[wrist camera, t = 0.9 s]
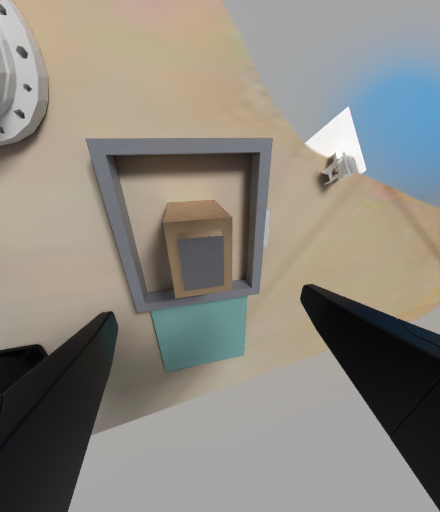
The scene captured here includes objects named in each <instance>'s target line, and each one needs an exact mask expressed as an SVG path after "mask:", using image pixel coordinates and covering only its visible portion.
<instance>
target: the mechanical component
mask: <svg viewBox="0 0 440 512" xmlns="http://www.w3.org/2000/svg"><path fill="white" fill-rule="evenodd" d="M47 104H48V77H47V73H46V70H45V66H44V63H43V60H42V56H41V53H40V49H39V47H38V45H37V43H36V41H35V39H34V37H33V35H32V33H31V31H30V29H29V27H28V25H27V23H26V21H25V19H24V17H23V15H22V13H21V12H20V11H19V9H18V8H17V7H16V6H15V4H14V3H13V2H12V1H11V0H0V146H2V145H7V144H12V143H17V142H18V141H20V140H22V139H24V138H25V137H27V136H29V135H31V134H32V133H34V132H35V130H36V129H37V127H38V125H39V124H40V122H41V120H42V119H43V117H44V115H45V113H46V108H47Z"/></svg>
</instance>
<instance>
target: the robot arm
mask: <svg viewBox="0 0 440 512" xmlns="http://www.w3.org/2000/svg"><path fill="white" fill-rule="evenodd" d="M300 300H301V303H302V305H303V307H304V308H305V310H306V312H307V314H308V316H309V317H310V319H311V321H312V323H313V325H314V326H315V328H316V330H317V331H318V333H319V334H320V336H321V337H322V339H323V340H324V342H325V343H326V345H327V346H328V347H329V349H330V350H331V352H332V353H333V355H334V356H335V358H336V359H337V361H338V362H339V363H340V365H341V367H342V368H343V369H344V371H345V372H346V374H347V375H348V377H349V378H350V380H351V381H352V382H353V384H354V385H355V387H356V388H357V390H358V391H359V393H360V394H361V396H362V397H363V399H364V400H365V402H366V403H367V405H368V406H369V408H370V409H371V410H372V412H373V413H374V415H375V416H376V418H377V419H378V421H379V422H380V424H381V425H382V427H383V428H384V430H385V431H386V432H387V434H388V435H389V437H390V438H391V440H392V441H393V443H394V445H395V446H396V447H397V449H398V450H399V452H400V453H401V455H402V456H403V458H404V459H405V461H406V462H407V464H408V465H409V467H410V468H411V469H412V471H413V472H414V474H415V475H416V477H417V478H418V480H419V481H420V483H421V484H422V486H423V487H424V489H425V490H426V492H427V493H428V494H429V496H430V497H431V499H432V500H433V502H434V503H435V505H436V506H437V508H438V509H439V511H440V334H437V333H434V332H431V331H429V330H426V329H423V328H421V327H418V326H416V325H413V324H411V323H408V322H406V321H403V320H401V319H397V318H396V317H393V316H391V315H388V314H386V313H383V312H381V311H378V310H376V309H373V308H371V307H368V306H366V305H363V304H361V303H358V302H356V301H353V300H351V299H348V298H346V297H343V296H341V295H338V294H336V293H333V292H331V291H328V290H326V289H323V288H321V287H318V286H316V285H314V284H307V285H304V286H303V289H302V293H301V297H300ZM117 334H118V324H117V321H116V318H115V315H114V313H113V312H112V311H108V312H102V313H100V314H99V315H98V316H97V317H95V318H94V319H93V320H92V321H90V322H89V323H88V324H87V325H86V326H84V327H83V328H82V329H81V330H79V331H78V332H77V333H76V334H75V335H73V336H72V337H71V338H70V339H68V340H67V341H66V342H65V343H64V344H62V345H61V346H60V347H59V348H58V349H56V350H55V351H54V352H53V353H51V354H50V355H49V356H47V354H46V353H45V351H44V350H43V348H42V347H41V346H40V345H37V344H36V345H29V346H23V347H17V348H12V349H6V350H0V512H68V509H69V506H70V503H71V499H72V496H73V492H74V489H75V486H76V483H77V479H78V476H79V473H80V469H81V466H82V463H83V459H84V456H85V453H86V449H87V446H88V443H89V439H90V436H91V433H92V430H93V426H94V423H95V420H96V416H97V413H98V410H99V406H100V403H101V400H102V396H103V393H104V390H105V386H106V383H107V380H108V376H109V373H110V369H111V366H112V361H113V355H114V350H115V345H116V339H117Z"/></svg>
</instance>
